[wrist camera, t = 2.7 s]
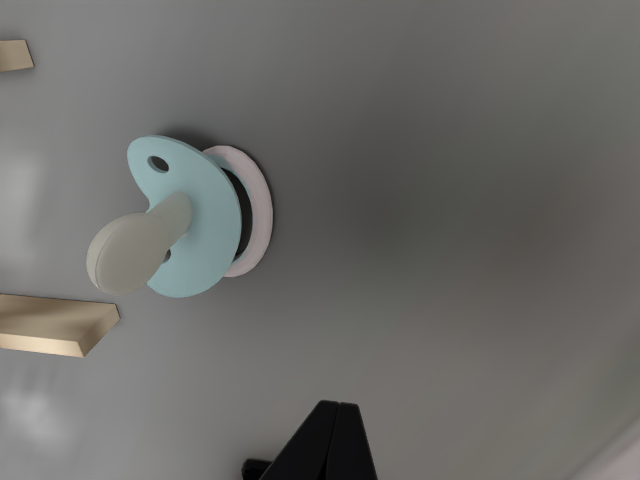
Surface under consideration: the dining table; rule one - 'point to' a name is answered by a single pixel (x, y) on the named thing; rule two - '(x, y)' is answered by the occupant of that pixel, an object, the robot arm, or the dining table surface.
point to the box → (44, 313)
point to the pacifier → (182, 222)
